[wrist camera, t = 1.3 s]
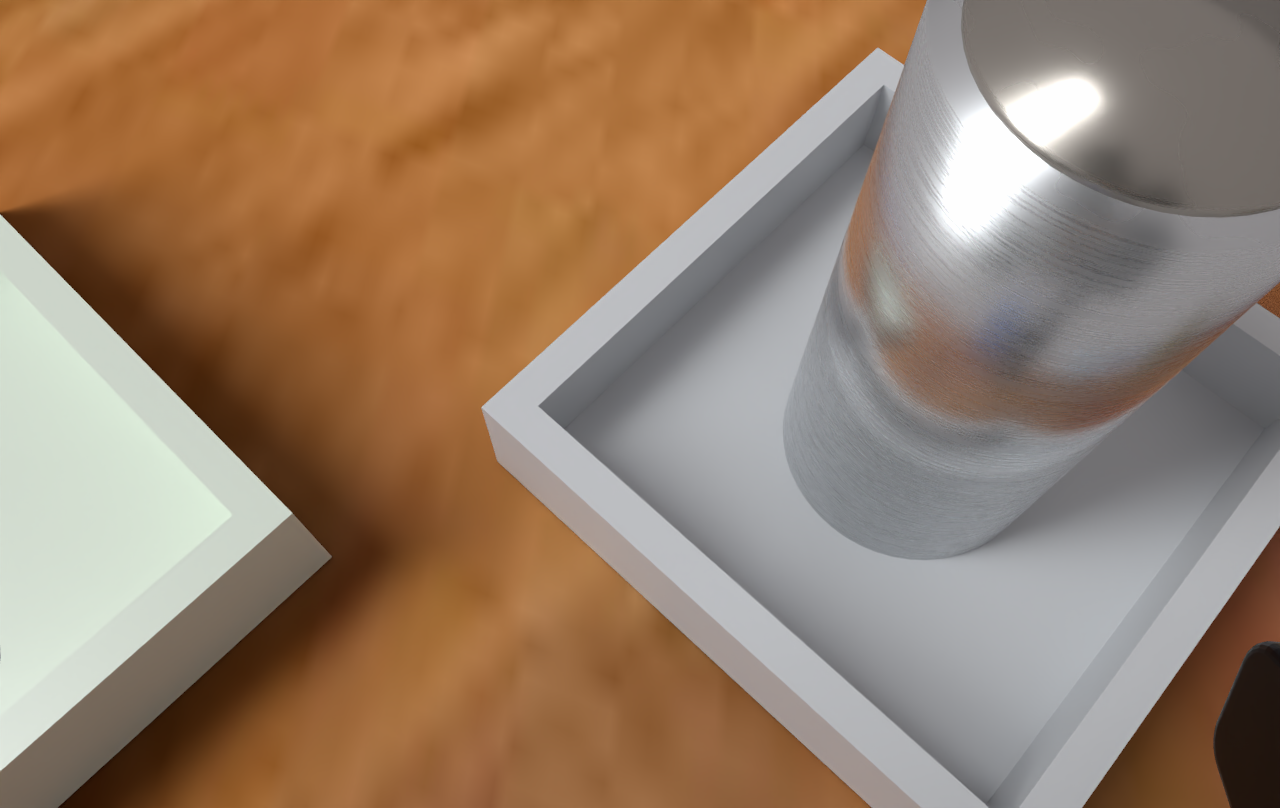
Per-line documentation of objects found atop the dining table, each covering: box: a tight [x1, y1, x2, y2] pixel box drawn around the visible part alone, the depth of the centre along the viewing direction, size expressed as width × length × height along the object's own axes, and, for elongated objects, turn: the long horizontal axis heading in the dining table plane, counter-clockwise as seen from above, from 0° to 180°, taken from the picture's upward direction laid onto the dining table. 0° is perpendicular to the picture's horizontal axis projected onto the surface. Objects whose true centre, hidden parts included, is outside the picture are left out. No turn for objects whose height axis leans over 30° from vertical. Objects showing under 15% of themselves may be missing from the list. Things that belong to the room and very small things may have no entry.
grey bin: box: [481, 48, 1280, 808], centre depth 22 cm, size 13×13×3 cm
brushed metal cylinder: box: [783, 0, 1280, 560], centre depth 18 cm, size 6×6×12 cm
